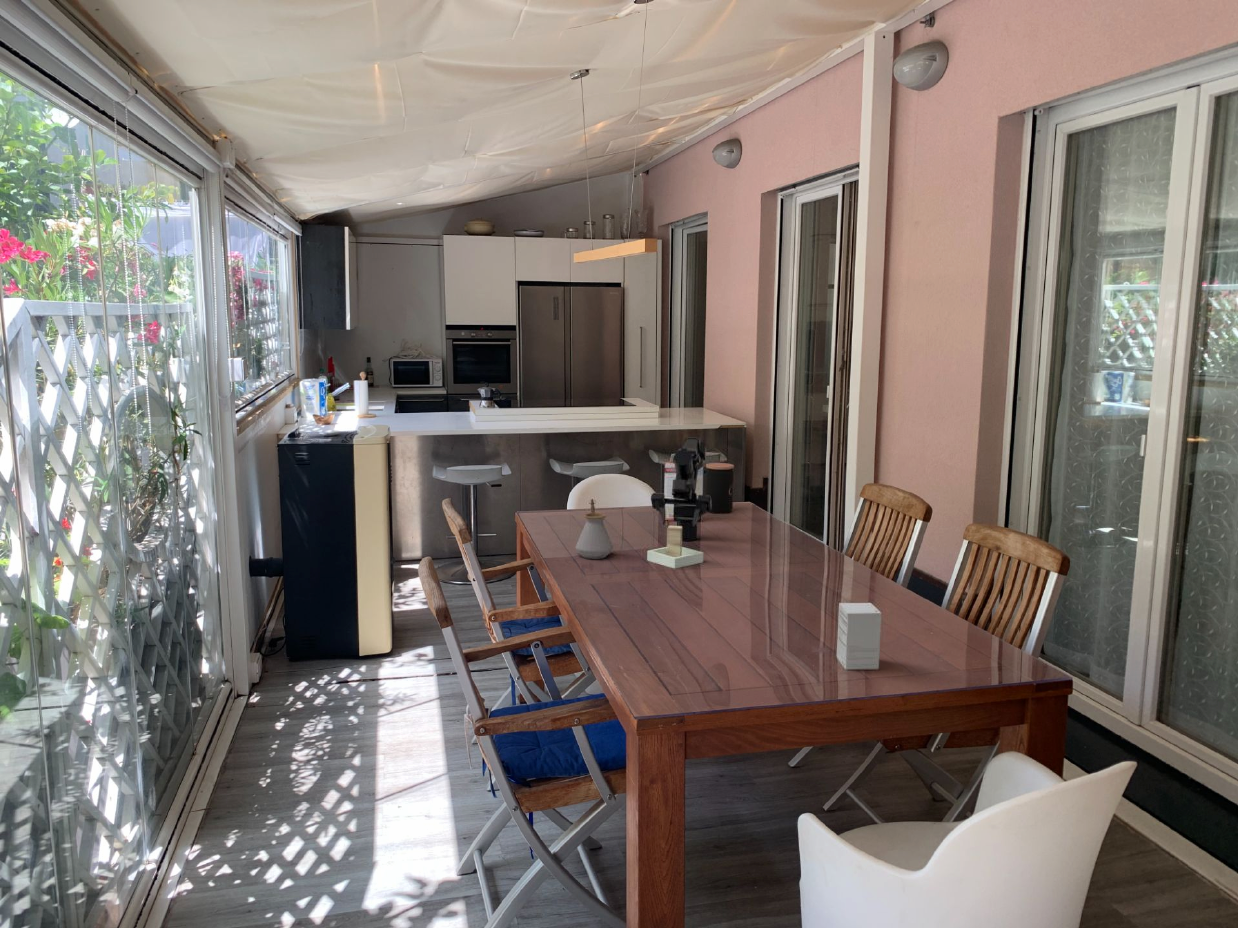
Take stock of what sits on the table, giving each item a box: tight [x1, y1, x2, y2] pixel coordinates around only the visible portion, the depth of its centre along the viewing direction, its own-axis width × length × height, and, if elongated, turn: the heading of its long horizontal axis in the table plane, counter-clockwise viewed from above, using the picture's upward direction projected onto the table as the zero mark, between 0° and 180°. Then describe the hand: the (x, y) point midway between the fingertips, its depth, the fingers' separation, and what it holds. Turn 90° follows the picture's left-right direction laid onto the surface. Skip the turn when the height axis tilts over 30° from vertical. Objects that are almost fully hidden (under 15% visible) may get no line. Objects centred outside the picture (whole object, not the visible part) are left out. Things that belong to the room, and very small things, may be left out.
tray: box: [646, 546, 704, 569], centre depth 285 cm, size 12×12×3 cm
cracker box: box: [663, 462, 704, 522], centre depth 343 cm, size 14×6×21 cm, turn 84°
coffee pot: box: [575, 499, 614, 560], centre depth 294 cm, size 21×12×15 cm, turn 5°
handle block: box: [666, 525, 683, 557], centre depth 284 cm, size 4×4×10 cm
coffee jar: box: [704, 462, 735, 515], centre depth 359 cm, size 11×11×18 cm
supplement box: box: [836, 602, 882, 671], centre depth 202 cm, size 7×7×13 cm
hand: (678, 524), depth 291 cm, fingers open, 9 cm apart
